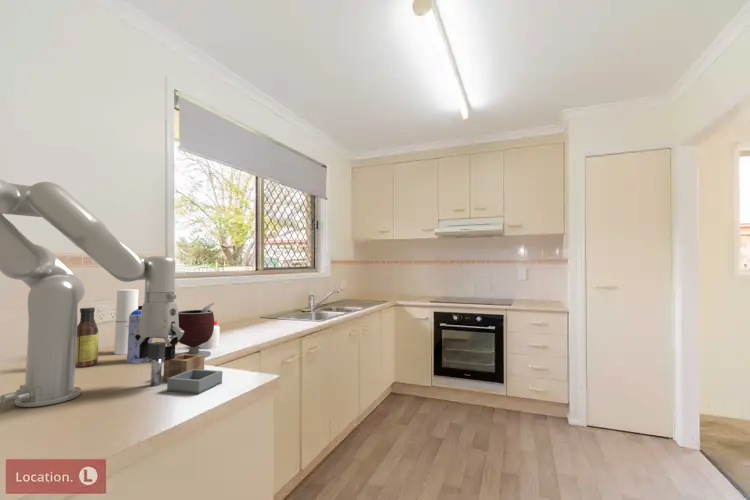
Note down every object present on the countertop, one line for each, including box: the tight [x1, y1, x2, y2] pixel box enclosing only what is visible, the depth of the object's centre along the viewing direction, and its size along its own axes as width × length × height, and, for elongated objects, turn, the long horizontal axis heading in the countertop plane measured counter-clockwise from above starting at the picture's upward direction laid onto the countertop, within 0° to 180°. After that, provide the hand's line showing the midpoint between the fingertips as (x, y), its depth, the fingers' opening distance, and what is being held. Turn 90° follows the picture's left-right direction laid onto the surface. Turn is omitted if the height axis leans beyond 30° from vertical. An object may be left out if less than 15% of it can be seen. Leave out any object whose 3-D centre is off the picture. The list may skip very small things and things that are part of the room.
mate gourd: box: [175, 302, 215, 358], centre depth 141 cm, size 16×14×20 cm
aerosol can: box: [126, 305, 153, 364], centre depth 133 cm, size 8×8×20 cm
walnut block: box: [162, 354, 206, 380], centre depth 113 cm, size 8×8×6 cm
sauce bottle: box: [75, 306, 99, 368], centre depth 125 cm, size 7×6×20 cm
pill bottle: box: [199, 320, 221, 350], centre depth 157 cm, size 8×8×11 cm
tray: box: [166, 369, 223, 395], centre depth 103 cm, size 10×10×4 cm
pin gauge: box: [148, 341, 167, 387], centre depth 105 cm, size 3×3×12 cm
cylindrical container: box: [113, 288, 139, 355], centre depth 145 cm, size 7×7×25 cm
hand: (157, 358), depth 105 cm, fingers open, 8 cm apart
